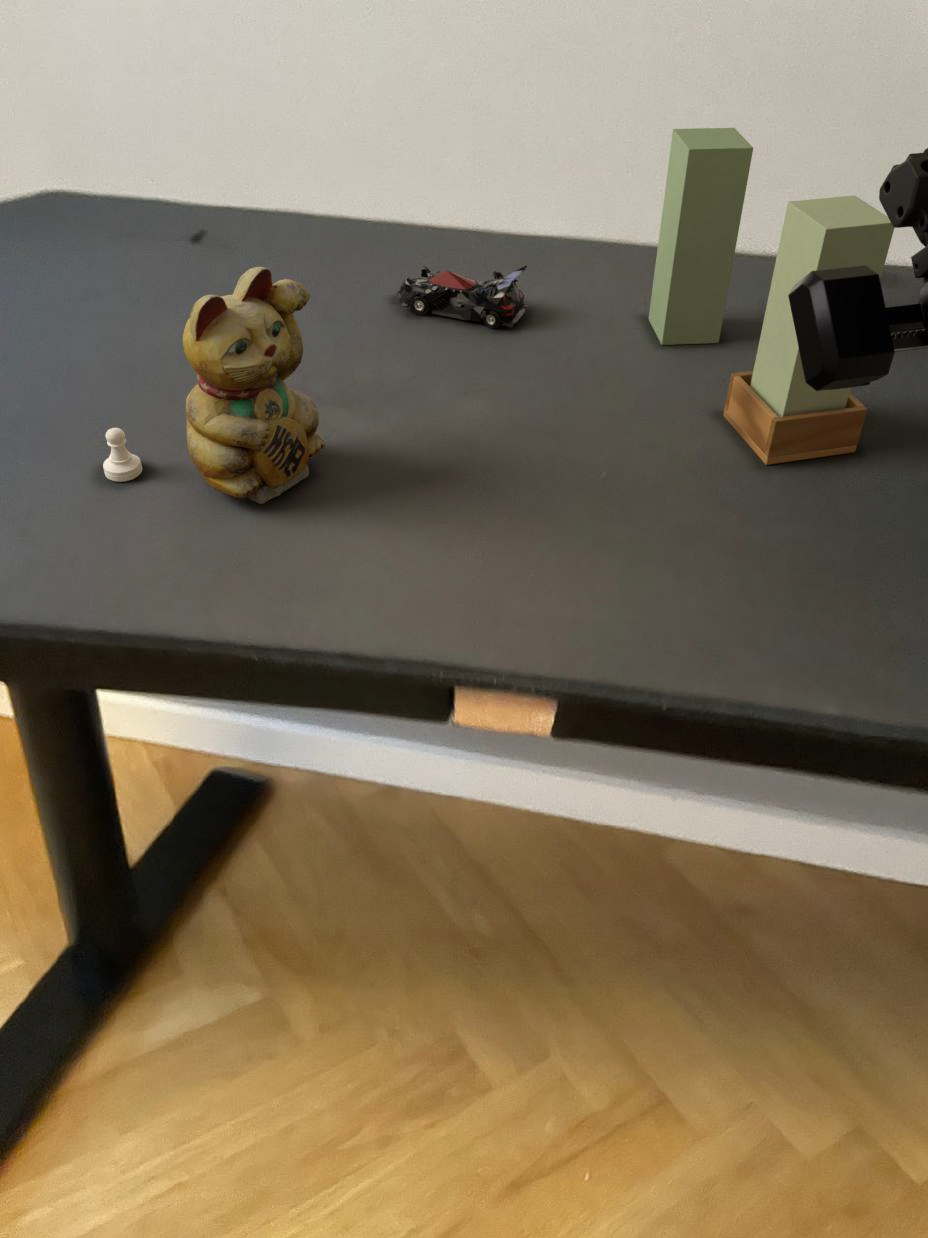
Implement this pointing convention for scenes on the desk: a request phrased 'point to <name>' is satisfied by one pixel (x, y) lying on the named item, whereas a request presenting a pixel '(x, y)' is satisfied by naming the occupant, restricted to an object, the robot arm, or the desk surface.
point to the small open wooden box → (791, 426)
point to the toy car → (465, 297)
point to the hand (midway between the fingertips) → (872, 362)
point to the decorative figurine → (249, 389)
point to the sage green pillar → (807, 244)
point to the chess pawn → (120, 458)
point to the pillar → (698, 233)
